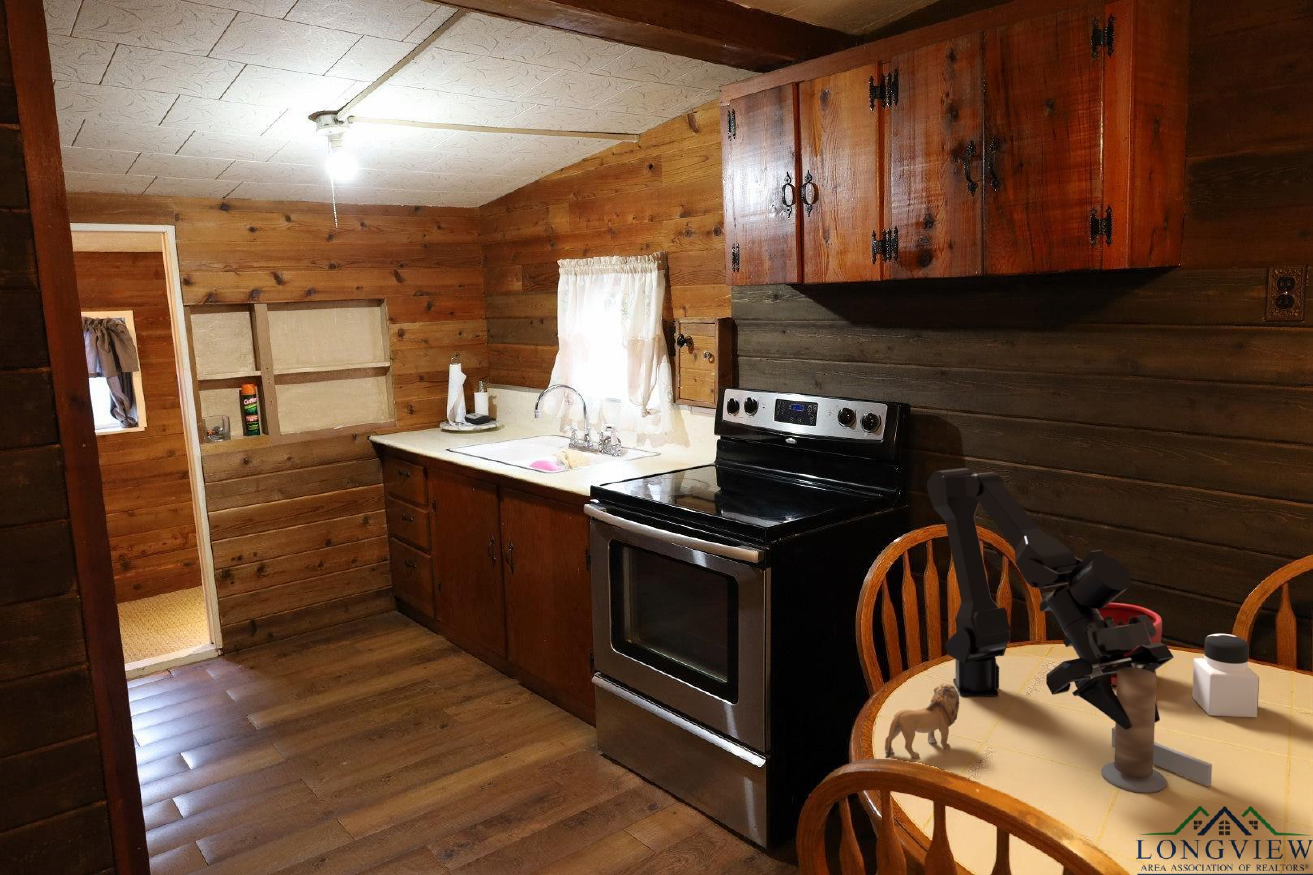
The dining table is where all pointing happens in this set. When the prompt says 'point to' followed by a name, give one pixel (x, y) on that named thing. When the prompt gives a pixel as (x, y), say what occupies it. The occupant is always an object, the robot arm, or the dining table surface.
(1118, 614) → the plant pot
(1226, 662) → the medicine bottle
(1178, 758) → the low wall
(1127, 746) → the pepper mill
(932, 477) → the robot arm
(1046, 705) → the dining table surface
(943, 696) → the lion figurine
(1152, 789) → the resting pad
